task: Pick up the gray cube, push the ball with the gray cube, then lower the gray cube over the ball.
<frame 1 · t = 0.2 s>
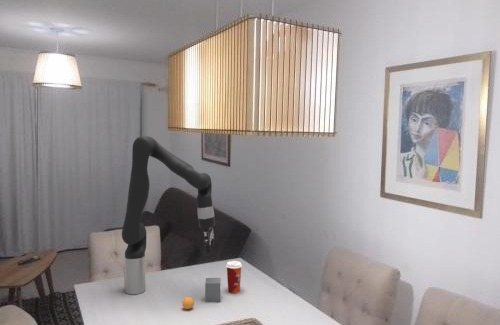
hand: (210, 250, 183), 22 cm above the table, fingers open, 8 cm apart
paper cup: (234, 291, 191), on the table
ball: (188, 303, 172), on the table
gray cube: (213, 299, 182), on the table
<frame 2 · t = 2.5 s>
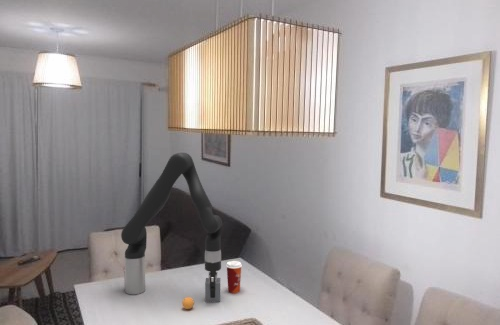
hand: (213, 294, 182), 2 cm above the table, fingers closed on gray cube, 7 cm apart
gray cube: (212, 298, 182), on the table, touching gripper
everything else where it was.
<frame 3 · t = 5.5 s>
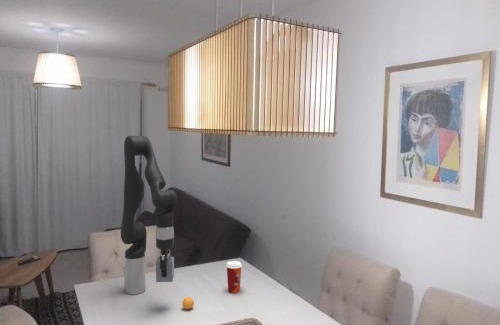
hand: (165, 273, 171), 16 cm above the table, fingers closed on gray cube, 7 cm apart
gray cube: (165, 278, 171), point 13 cm above the table, touching gripper
everything else where it was.
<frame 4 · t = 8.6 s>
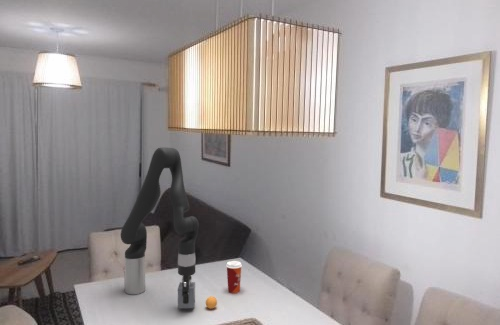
hand: (186, 299, 172), 4 cm above the table, fingers closed on gray cube, 7 cm apart
ball: (211, 302, 173), on the table
gray cube: (186, 304, 172), point 2 cm above the table, touching gripper
everything else where it was.
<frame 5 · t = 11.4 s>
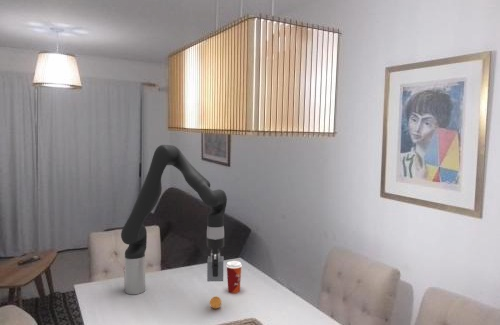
hand: (215, 273, 172), 16 cm above the table, fingers closed on gray cube, 7 cm apart
ball: (215, 302, 173), on the table
gray cube: (215, 278, 172), point 13 cm above the table, touching gripper
everything else where it was.
when the fingers open (3 cm above the table, at t = 13.8 s): gray cube stays where it is, on the table.
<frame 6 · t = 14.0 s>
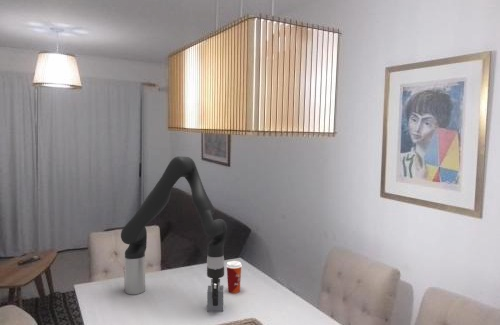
hand: (215, 301, 173), 3 cm above the table, fingers open, 8 cm apart
gray cube: (215, 308, 173), on the table
everything else where it was.
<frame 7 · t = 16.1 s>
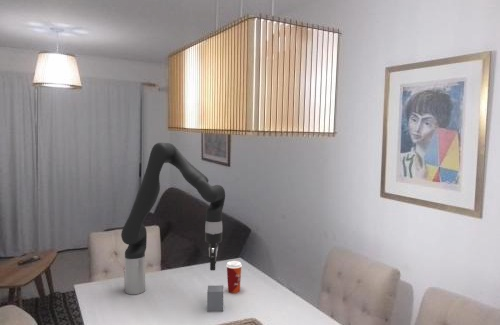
hand: (213, 266, 174), 18 cm above the table, fingers open, 8 cm apart
nothing on the table moved.
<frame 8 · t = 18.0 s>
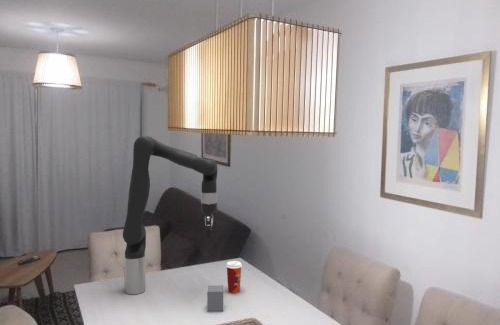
hand: (209, 235, 187), 28 cm above the table, fingers open, 8 cm apart
nothing on the table moved.
at the end: ball 0.1 cm from the gray cube (horizontally); gray cube on the table; ball moved 12.0 cm from its start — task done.
